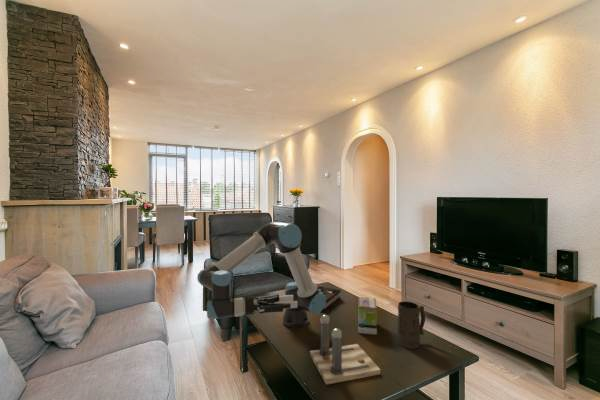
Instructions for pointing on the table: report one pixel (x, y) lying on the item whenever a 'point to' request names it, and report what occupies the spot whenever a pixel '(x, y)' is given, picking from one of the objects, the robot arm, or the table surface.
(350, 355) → the switch panel
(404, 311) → the beer stein
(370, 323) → the tea box
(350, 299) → the table surface
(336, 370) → the grey rounded post
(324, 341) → the grey lever
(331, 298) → the decorative book
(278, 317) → the table surface
